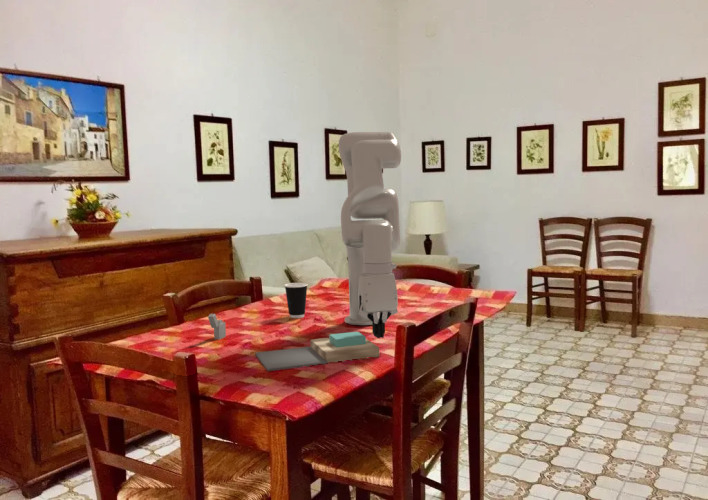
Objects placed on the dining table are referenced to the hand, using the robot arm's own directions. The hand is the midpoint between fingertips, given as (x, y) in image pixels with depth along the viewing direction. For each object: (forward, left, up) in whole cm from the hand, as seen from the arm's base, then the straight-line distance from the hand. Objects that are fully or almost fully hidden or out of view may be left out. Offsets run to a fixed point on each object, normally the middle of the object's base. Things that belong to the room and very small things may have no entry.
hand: (378, 336), depth 164 cm
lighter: (-30, -39, -4) cm, 49 cm away
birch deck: (0, -10, -3) cm, 10 cm away
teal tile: (0, -9, -1) cm, 9 cm away
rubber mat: (0, -24, -3) cm, 25 cm away
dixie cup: (-50, -10, -3) cm, 51 cm away
